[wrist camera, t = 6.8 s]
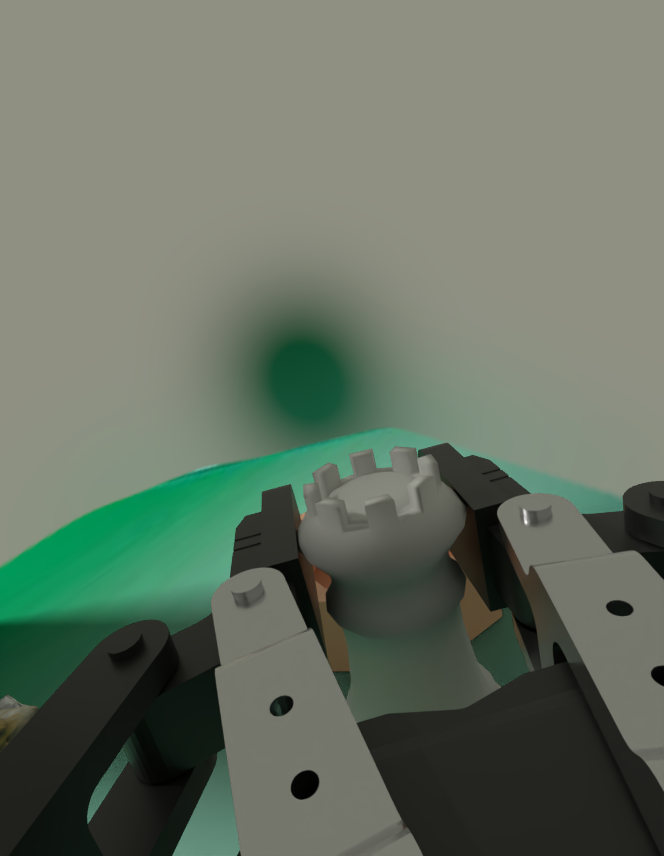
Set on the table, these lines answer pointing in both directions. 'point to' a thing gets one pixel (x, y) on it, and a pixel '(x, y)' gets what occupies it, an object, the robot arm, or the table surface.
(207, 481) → the table surface
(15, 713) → the frog figurine
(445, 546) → the rook chess piece
